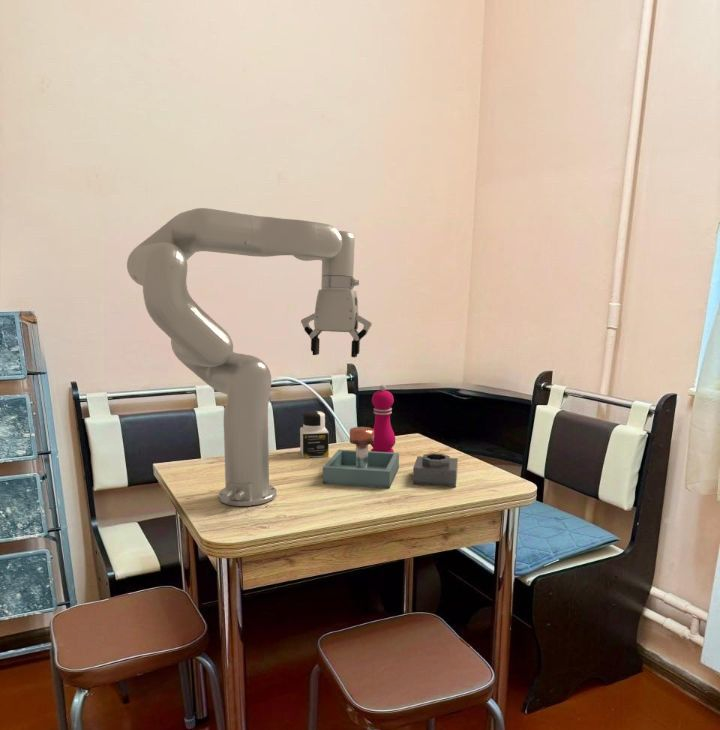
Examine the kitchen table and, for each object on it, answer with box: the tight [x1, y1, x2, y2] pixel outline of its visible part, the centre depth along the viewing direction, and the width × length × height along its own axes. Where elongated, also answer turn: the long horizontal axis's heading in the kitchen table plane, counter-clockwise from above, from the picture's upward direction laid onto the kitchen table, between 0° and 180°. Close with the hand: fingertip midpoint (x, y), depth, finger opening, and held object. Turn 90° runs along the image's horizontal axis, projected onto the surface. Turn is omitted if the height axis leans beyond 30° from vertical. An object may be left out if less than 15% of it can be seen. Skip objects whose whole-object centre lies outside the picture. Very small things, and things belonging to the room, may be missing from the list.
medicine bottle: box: [299, 410, 330, 459], centre depth 162 cm, size 7×7×12 cm
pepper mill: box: [369, 384, 396, 453], centre depth 160 cm, size 7×7×20 cm
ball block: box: [412, 452, 459, 488], centre depth 141 cm, size 10×10×6 cm
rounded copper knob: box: [349, 426, 374, 469], centre depth 143 cm, size 6×6×11 cm
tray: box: [322, 448, 400, 489], centre depth 144 cm, size 16×16×4 cm
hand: (334, 355), depth 140 cm, fingers open, 9 cm apart
